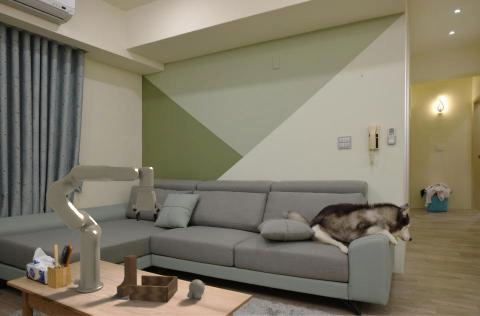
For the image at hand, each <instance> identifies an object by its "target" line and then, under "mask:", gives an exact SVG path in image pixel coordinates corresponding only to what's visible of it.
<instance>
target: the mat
mask: <svg viewBox="0 0 480 316" xmlns="http://www.w3.org/2000/svg"><path fill="white" fill-rule="evenodd" d="M113 299H114V300H127V301H129V295H127V296H124V297H120V296H117V292H116V293H115V294H114V295H113V296H111V297H110V300H113Z"/></svg>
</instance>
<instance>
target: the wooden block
mask: <svg viewBox="0 0 480 316" xmlns="http://www.w3.org/2000/svg"><path fill="white" fill-rule="evenodd" d="M137 258H138V257H137V255H135V254H128V255H125V256H124V257H123V265H124V266H123V269H124V271H123V272H124V273H123V274H124V276H123V280H122V282H121V283H120V284H119V285H117V286H116V293H117V296H120V297H124V296H127V295H129V285H138V259H137Z"/></svg>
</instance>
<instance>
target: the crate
mask: <svg viewBox="0 0 480 316" xmlns="http://www.w3.org/2000/svg"><path fill="white" fill-rule="evenodd" d="M140 279H141V280H140V281H141V283H140V285H139V284H137V285H129V299H128V301H130V302H131V301H132V302H151V303H152V302H153V303H169V302H170V300H171V299H172V298H173V297H174V295H175V294H176V293H177V292H178V291H179V290H178V289H179V286H178V285H179V284H178V283H179V282H178V279H179V277H178V276H175V275H174V276H171V275H147V274H145V275H144V274H142V275H141V276H140Z"/></svg>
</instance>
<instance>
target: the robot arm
mask: <svg viewBox="0 0 480 316" xmlns="http://www.w3.org/2000/svg"><path fill="white" fill-rule="evenodd" d="M154 170H155V169H154V167H152V166H141V167H138V166H137V167H135V166H110V165H101V164H100V165H99V164H98V165H92V164H90V165H89V164H88V165H87V164H86V165H85V164H78V165H74V166H73V167H71V170H70V172H69V173H68V174H66V175H65V176H64V177H63V178H62V179H59V180H55V181H53V182H52V183H51V184H50V185H49V186H48V188H47V191H46V195H45V197H46V201H47V205H48V206H49V207H50V208H51V210H52V211H53V212H54V213H55V214H56V216H58V217H59V218H60V219H61V221H62V222H63V223H64V224H65V225H66V226H67V228H69V229H70V230H73V231H78V232H79V237H78V244H79V245H78V246H79V272H80V273H79V275H80V277H79V278H76V279H75V280H74V282H73V285H77V287H76V292H78V293H82V294H83V293H88V294H89V293H93V292H97V291H99V290H101V289H102V288H104V282H103V281H101V244H100V239H101V237H102V233H103V232H102V231H103V230H102V228H101V226H100V225H99V224H98V223H97V222H96V221H95V220H94V218H93V217H92V216H91V215H90V214H89V213H88V212H87V211H85V210H84V209H78V208H76V206H75V205H74V204H73V202H71V201H70V200H69V199H68V198H67V196H68V195H69V194H72V193H73V192H74V190H76V189H77V188H79V187H80V186H81V185H82V184H83V183H85V182H105V183H107V182H134V181H137V180H139V182H138V183H139V185H138V187H137V191H138V192H137V196H136V202H135V203H133V204H132V205H131V208H132V210H133V212H134V213H135V214H136V215H135V218H136V222H139V221H141V211H142V212H143V211H147V212H148V211H151V212H153V213H154V214H153V222H156V221H158V218H159V217H158V216H159V215H158V214H159V212H160V211H161V210H162V208H163V205H162V204H160V203H159V202H157V196H156V191H155V187H154V185H155V183H154V179H155V178H154V177H155V176H154ZM157 207H158V208H157Z"/></svg>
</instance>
